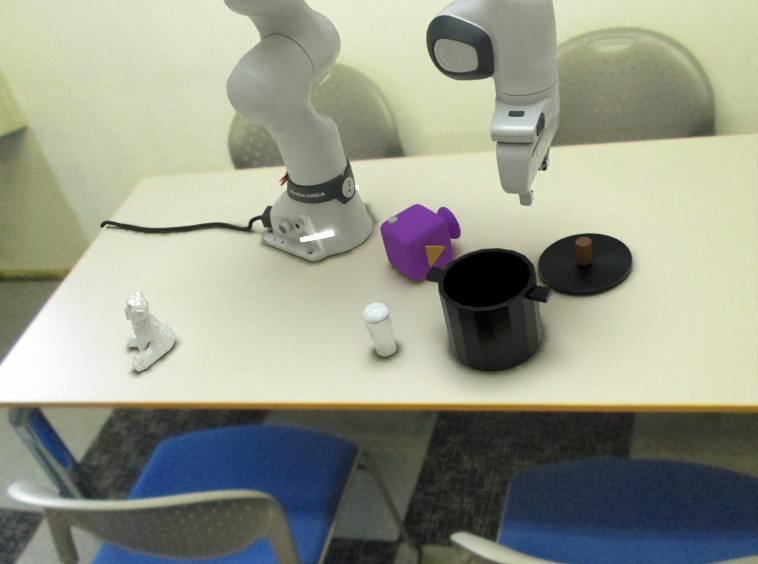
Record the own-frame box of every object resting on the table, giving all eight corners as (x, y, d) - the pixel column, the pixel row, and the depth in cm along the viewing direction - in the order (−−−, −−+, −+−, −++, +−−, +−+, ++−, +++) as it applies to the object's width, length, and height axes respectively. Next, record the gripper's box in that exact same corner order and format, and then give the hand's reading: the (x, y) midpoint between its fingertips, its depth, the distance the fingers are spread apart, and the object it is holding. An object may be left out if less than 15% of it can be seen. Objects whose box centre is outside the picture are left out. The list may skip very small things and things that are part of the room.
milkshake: (402, 359, 130) (388, 312, 122) (370, 359, 131) (355, 313, 124) (407, 340, 133) (394, 293, 125) (376, 340, 134) (362, 294, 127)
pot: (536, 384, 121) (528, 321, 112) (421, 356, 129) (405, 297, 120) (571, 321, 128) (567, 258, 120) (460, 299, 137) (449, 239, 128)
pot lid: (614, 303, 130) (613, 278, 126) (524, 287, 136) (521, 262, 133) (644, 245, 138) (644, 220, 134) (558, 233, 145) (556, 208, 141)
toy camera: (474, 247, 147) (466, 200, 139) (425, 289, 141) (414, 242, 134) (431, 231, 153) (421, 185, 145) (382, 271, 147) (369, 225, 140)
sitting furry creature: (129, 343, 146) (97, 292, 137) (174, 325, 147) (146, 273, 139) (136, 374, 140) (104, 323, 131) (183, 355, 141) (154, 302, 132)
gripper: (525, 65, 120) (532, 148, 130) (486, 137, 108) (496, 222, 118) (567, 64, 118) (571, 149, 128) (531, 138, 106) (538, 225, 116)
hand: (535, 185), depth 123 cm, fingers open, 8 cm apart
